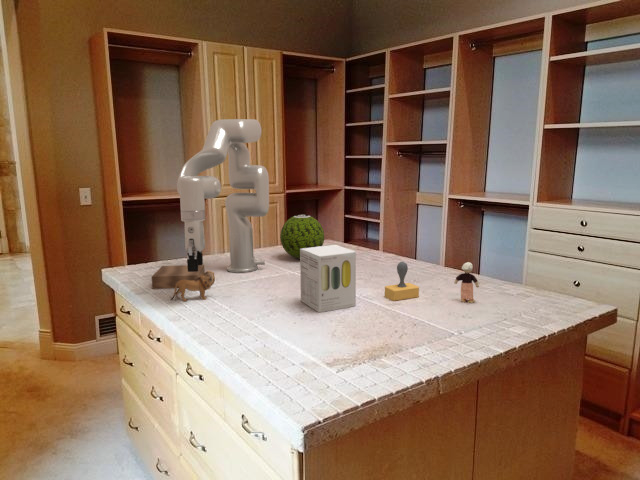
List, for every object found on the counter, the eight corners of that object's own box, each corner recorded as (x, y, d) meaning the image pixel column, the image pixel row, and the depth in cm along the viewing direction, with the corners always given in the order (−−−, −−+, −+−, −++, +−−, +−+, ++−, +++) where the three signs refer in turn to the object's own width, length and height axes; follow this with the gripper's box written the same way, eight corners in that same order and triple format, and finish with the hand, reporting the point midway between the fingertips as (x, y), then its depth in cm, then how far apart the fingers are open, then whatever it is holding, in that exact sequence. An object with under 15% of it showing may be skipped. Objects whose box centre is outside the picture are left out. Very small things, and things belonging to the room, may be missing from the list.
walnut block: (204, 277, 183) (204, 264, 182) (198, 288, 167) (197, 275, 167) (163, 278, 182) (162, 266, 181) (152, 290, 166) (151, 276, 165)
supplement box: (318, 313, 139) (318, 256, 136) (300, 301, 151) (299, 248, 148) (356, 306, 145) (356, 251, 142) (335, 295, 157) (335, 244, 154)
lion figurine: (214, 294, 159) (213, 268, 158) (217, 298, 154) (215, 272, 153) (169, 299, 154) (167, 273, 152) (170, 304, 149) (168, 276, 147)
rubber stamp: (409, 292, 159) (409, 258, 157) (419, 297, 154) (420, 261, 152) (384, 296, 155) (384, 261, 153) (393, 301, 150) (394, 265, 147)
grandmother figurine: (478, 300, 150) (480, 261, 147) (478, 304, 146) (480, 264, 144) (453, 298, 152) (455, 260, 150) (452, 301, 149) (454, 262, 146)
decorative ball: (324, 263, 202) (324, 217, 199) (278, 263, 203) (277, 217, 199) (324, 253, 222) (324, 211, 218) (282, 253, 222) (281, 212, 218)
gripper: (200, 218, 142) (203, 273, 144) (208, 213, 159) (210, 262, 161) (175, 219, 141) (178, 274, 143) (186, 213, 158) (188, 263, 160)
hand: (195, 268), depth 152 cm, fingers open, 9 cm apart
